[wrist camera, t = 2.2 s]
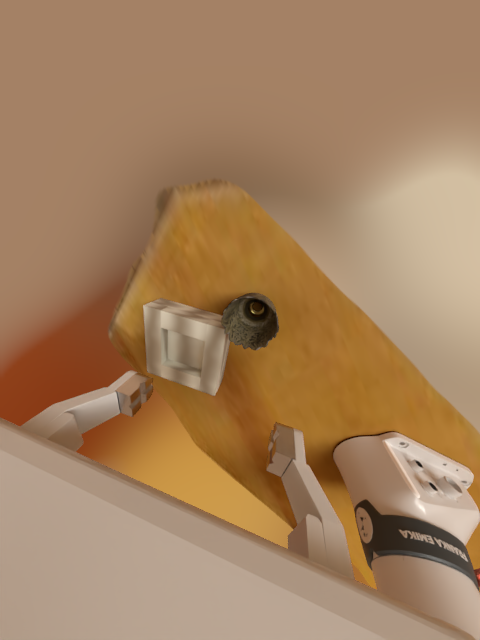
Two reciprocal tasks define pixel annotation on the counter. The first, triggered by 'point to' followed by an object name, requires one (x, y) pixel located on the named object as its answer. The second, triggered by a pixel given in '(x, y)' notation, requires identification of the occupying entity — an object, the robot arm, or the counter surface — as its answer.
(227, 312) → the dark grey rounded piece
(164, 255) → the counter surface
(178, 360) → the white recessed square tray
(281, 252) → the counter surface
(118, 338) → the counter surface
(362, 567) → the counter surface
